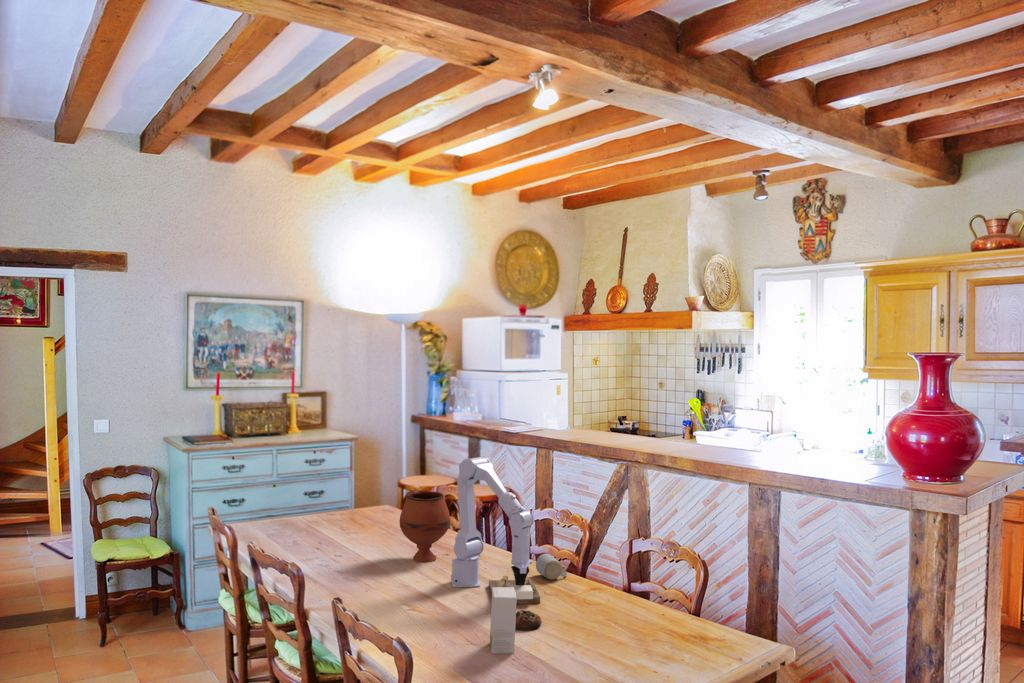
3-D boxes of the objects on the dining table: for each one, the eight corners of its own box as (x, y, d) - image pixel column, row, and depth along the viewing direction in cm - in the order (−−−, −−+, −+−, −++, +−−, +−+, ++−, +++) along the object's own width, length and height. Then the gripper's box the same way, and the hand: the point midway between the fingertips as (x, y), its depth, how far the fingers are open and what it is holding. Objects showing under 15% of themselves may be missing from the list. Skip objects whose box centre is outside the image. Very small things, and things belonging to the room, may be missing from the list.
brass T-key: (502, 589, 251) (503, 575, 251) (508, 590, 251) (508, 576, 251) (495, 601, 240) (496, 586, 240) (501, 602, 239) (501, 587, 239)
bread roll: (530, 634, 220) (528, 616, 220) (498, 630, 225) (497, 613, 226) (549, 624, 229) (548, 606, 229) (518, 621, 235) (517, 604, 235)
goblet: (389, 562, 287) (390, 496, 287) (414, 550, 304) (415, 488, 304) (434, 569, 279) (435, 501, 279) (457, 556, 297) (458, 492, 297)
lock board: (493, 604, 244) (494, 593, 244) (488, 586, 262) (489, 576, 262) (540, 603, 246) (540, 592, 246) (531, 585, 264) (532, 575, 264)
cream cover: (511, 599, 243) (511, 591, 243) (509, 593, 249) (509, 585, 249) (533, 599, 244) (533, 591, 244) (530, 592, 250) (530, 585, 250)
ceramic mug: (544, 581, 268) (545, 560, 268) (534, 575, 276) (535, 553, 276) (571, 579, 272) (572, 557, 272) (561, 572, 280) (561, 551, 280)
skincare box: (489, 642, 213) (491, 586, 213) (513, 642, 213) (514, 586, 214) (491, 654, 205) (492, 596, 205) (515, 654, 205) (517, 596, 205)
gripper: (536, 553, 244) (535, 596, 244) (529, 541, 258) (528, 581, 258) (514, 553, 243) (513, 596, 243) (508, 542, 257) (508, 582, 257)
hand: (519, 589), depth 250 cm, fingers closed
